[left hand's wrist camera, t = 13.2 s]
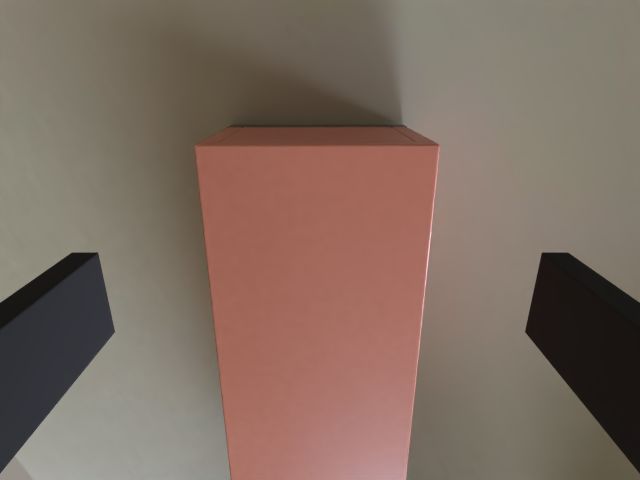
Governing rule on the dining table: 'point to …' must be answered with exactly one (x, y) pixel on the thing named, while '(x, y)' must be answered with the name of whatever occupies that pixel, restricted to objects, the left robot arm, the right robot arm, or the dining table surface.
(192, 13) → the dining table surface
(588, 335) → the left robot arm
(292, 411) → the salmon pink box
